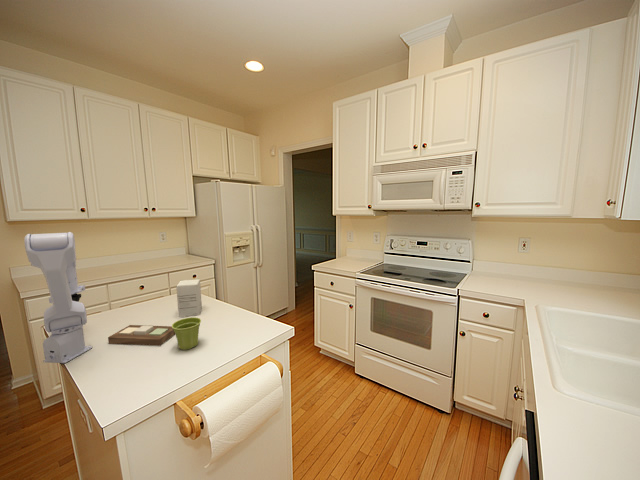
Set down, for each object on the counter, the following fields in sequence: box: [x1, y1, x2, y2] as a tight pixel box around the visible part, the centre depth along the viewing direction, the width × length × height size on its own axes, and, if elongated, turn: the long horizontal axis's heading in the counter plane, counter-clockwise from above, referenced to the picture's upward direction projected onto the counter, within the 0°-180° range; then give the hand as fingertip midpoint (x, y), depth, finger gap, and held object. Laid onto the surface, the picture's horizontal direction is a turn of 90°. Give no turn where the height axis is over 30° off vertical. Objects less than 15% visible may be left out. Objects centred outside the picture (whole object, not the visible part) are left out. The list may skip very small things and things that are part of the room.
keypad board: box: [107, 324, 176, 347], centre depth 98 cm, size 10×20×2 cm, turn 85°
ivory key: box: [134, 325, 154, 335], centre depth 98 cm, size 4×4×2 cm
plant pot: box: [171, 316, 202, 351], centre depth 92 cm, size 9×9×9 cm
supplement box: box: [175, 278, 203, 318], centre depth 121 cm, size 9×9×15 cm
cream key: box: [119, 327, 138, 335], centre depth 99 cm, size 4×4×2 cm
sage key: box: [149, 328, 168, 336], centre depth 98 cm, size 4×4×2 cm
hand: (71, 314), depth 97 cm, fingers closed
